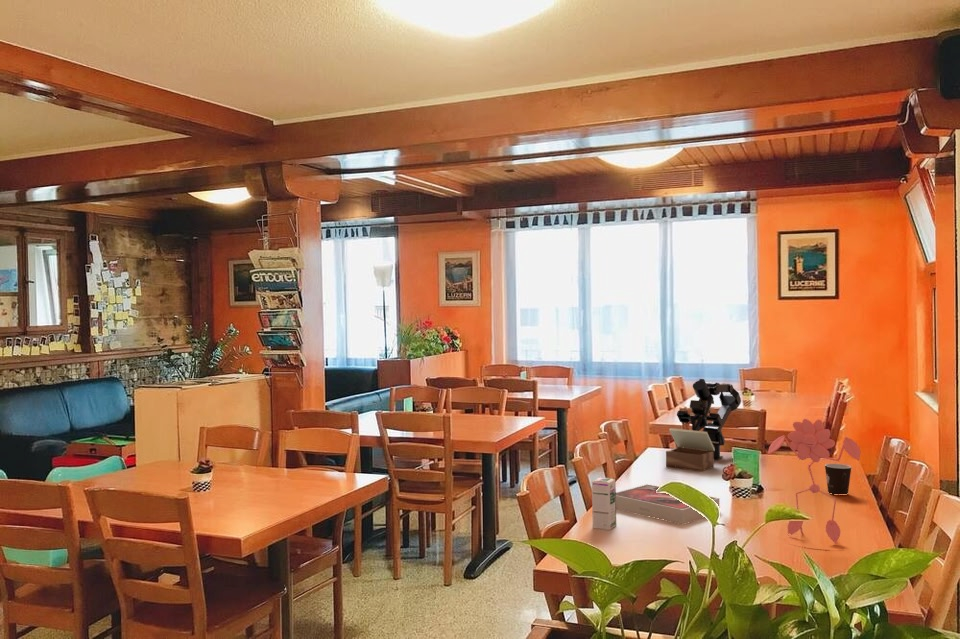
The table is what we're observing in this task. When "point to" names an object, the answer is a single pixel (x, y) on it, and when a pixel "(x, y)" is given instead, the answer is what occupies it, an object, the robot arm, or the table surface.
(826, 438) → the pink flower figurine
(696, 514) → the product packaging
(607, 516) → the syrup box
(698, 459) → the walnut box
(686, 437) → the lid
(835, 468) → the coffee mug
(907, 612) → the table surface
